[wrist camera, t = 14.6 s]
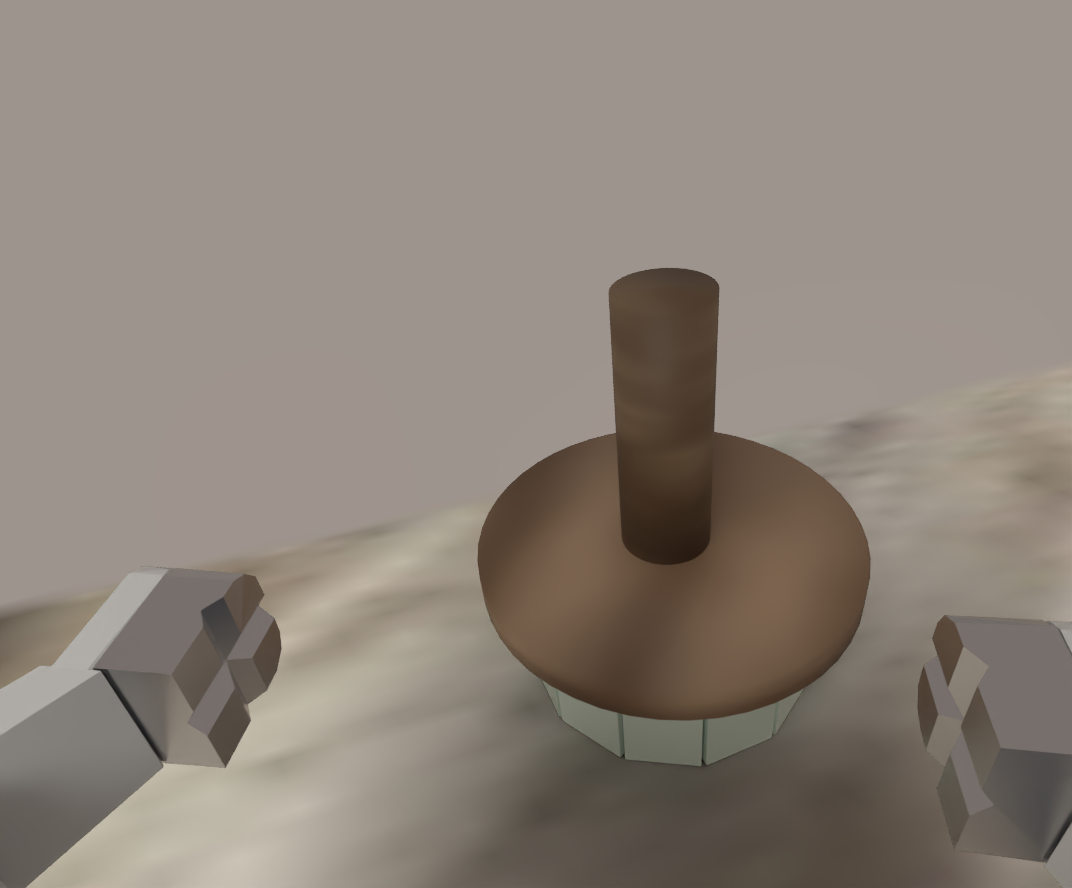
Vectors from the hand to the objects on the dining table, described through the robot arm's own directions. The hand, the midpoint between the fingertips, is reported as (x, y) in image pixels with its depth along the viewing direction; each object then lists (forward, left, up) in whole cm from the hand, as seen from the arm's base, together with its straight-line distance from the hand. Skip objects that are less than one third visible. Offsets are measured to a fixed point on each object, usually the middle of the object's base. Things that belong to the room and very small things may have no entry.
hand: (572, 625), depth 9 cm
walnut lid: (+1, +14, -12) cm, 18 cm away
